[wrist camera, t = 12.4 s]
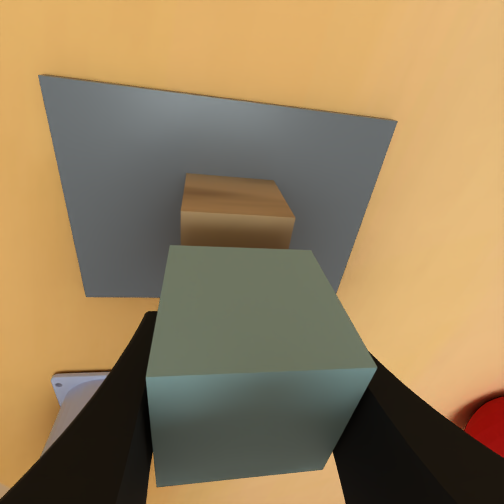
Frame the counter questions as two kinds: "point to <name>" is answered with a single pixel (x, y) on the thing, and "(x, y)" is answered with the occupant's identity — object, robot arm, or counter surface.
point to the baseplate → (199, 172)
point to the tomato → (489, 425)
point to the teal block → (249, 365)
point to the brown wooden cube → (234, 213)
